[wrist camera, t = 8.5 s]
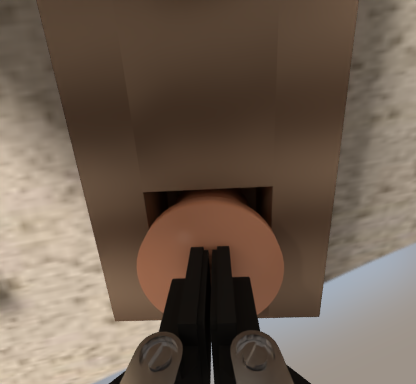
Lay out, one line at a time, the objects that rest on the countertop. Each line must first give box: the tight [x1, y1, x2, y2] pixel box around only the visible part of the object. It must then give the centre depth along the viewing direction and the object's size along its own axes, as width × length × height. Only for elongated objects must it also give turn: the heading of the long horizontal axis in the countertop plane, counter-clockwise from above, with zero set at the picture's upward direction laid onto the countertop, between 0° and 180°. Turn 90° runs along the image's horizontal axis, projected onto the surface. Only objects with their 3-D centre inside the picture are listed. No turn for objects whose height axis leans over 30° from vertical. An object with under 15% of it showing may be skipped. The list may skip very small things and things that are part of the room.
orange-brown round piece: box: [137, 188, 284, 315], centre depth 14 cm, size 6×6×6 cm
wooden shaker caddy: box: [36, 0, 359, 321], centre depth 14 cm, size 24×12×7 cm, turn 3°
